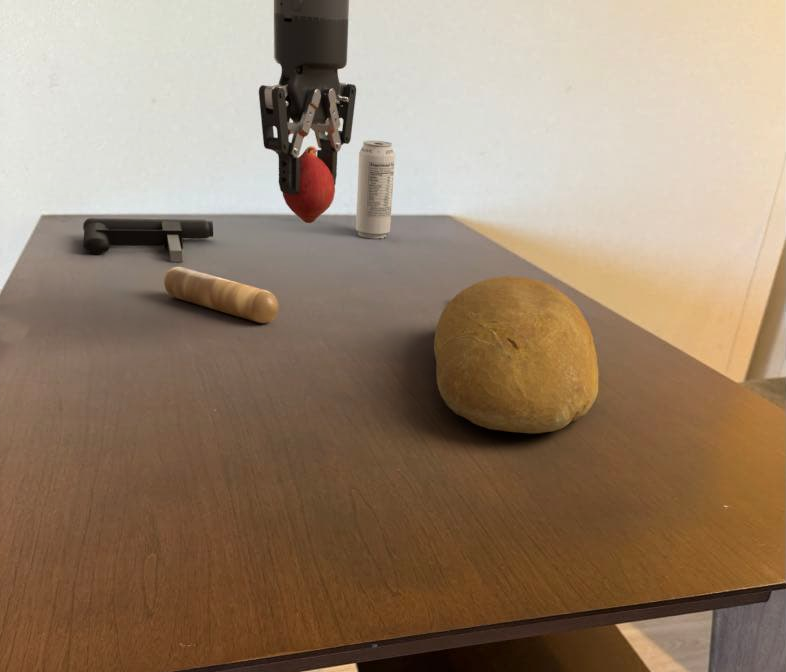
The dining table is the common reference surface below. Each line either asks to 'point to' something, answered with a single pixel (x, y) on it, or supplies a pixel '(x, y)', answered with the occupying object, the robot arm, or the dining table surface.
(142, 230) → the door handle
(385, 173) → the energy drink can
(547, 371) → the bread
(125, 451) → the dining table surface
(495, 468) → the dining table surface
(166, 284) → the tan rounded rod
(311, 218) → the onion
